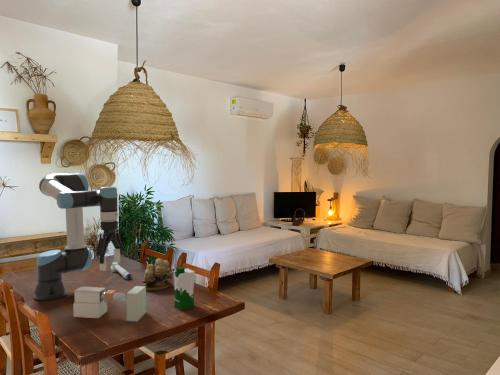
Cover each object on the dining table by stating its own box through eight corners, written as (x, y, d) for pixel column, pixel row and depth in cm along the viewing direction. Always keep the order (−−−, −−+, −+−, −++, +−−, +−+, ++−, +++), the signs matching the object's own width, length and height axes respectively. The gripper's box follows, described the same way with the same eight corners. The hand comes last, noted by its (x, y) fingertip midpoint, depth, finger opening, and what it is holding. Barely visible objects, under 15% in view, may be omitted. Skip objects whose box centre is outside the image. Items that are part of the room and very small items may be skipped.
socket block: (126, 320, 170) (126, 293, 169) (136, 311, 180) (135, 286, 179) (137, 321, 169) (137, 293, 169) (146, 312, 179) (145, 286, 178)
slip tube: (83, 301, 175) (83, 292, 175) (88, 297, 179) (88, 288, 179) (122, 303, 173) (122, 293, 172) (127, 299, 177) (127, 290, 177)
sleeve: (73, 316, 174) (73, 291, 173) (83, 310, 182) (82, 285, 181) (98, 318, 173) (97, 292, 172) (107, 311, 181) (106, 286, 180)
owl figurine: (167, 281, 225) (167, 253, 224) (177, 287, 216) (177, 257, 215) (138, 288, 213) (138, 258, 212) (148, 294, 205) (147, 263, 203)
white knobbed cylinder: (124, 274, 227) (109, 260, 245) (124, 284, 228) (109, 270, 247) (132, 272, 230) (117, 259, 249) (132, 283, 231) (117, 268, 250)
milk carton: (172, 306, 187) (171, 266, 186) (188, 302, 193) (187, 263, 191) (180, 312, 180) (180, 270, 179) (197, 307, 186) (196, 267, 184)
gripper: (103, 225, 161) (104, 274, 162) (128, 216, 185) (129, 259, 187) (86, 224, 162) (88, 273, 163) (114, 216, 186) (115, 259, 188)
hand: (110, 266), depth 175 cm, fingers open, 13 cm apart
